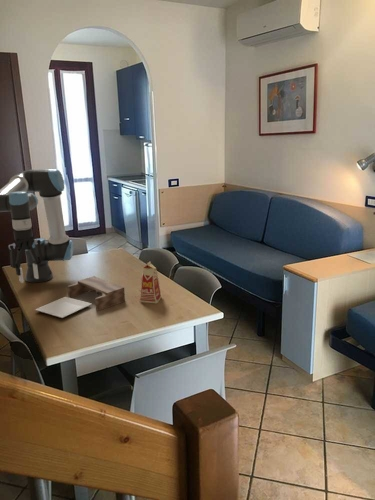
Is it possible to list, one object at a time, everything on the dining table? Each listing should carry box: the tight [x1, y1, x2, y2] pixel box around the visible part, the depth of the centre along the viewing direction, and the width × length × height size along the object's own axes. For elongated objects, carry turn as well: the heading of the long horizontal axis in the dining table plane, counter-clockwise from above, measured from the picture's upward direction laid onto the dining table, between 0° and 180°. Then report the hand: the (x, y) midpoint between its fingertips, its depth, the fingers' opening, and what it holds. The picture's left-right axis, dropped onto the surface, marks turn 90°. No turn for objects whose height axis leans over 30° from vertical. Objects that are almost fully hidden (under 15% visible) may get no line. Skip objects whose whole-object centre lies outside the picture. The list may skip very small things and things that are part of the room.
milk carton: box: [138, 261, 162, 304], centre depth 203 cm, size 9×9×20 cm
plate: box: [34, 296, 93, 319], centre depth 195 cm, size 19×19×2 cm
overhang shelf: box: [67, 275, 126, 312], centre depth 207 cm, size 16×26×7 cm, turn 46°
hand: (29, 279), depth 180 cm, fingers open, 6 cm apart
